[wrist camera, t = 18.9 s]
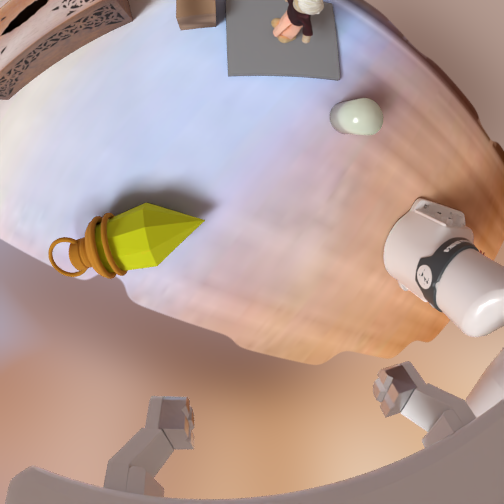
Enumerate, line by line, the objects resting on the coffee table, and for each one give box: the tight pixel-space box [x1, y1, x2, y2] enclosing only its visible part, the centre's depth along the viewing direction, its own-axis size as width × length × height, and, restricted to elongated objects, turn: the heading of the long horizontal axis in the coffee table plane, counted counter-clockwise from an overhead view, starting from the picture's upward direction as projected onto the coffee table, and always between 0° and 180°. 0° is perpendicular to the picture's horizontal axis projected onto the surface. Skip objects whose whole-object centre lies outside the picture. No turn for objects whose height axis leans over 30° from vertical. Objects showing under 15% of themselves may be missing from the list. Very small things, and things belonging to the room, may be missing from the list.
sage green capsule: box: [330, 98, 383, 135], centre depth 33 cm, size 5×5×7 cm
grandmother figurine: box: [271, 0, 324, 43], centre depth 23 cm, size 8×4×13 cm, turn 29°
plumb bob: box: [49, 203, 205, 279], centre depth 35 cm, size 9×9×25 cm
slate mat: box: [226, 0, 340, 80], centre depth 30 cm, size 16×14×1 cm
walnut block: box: [176, 0, 216, 30], centre depth 25 cm, size 5×5×5 cm
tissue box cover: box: [0, 0, 133, 100], centre depth 19 cm, size 26×14×10 cm, turn 106°
